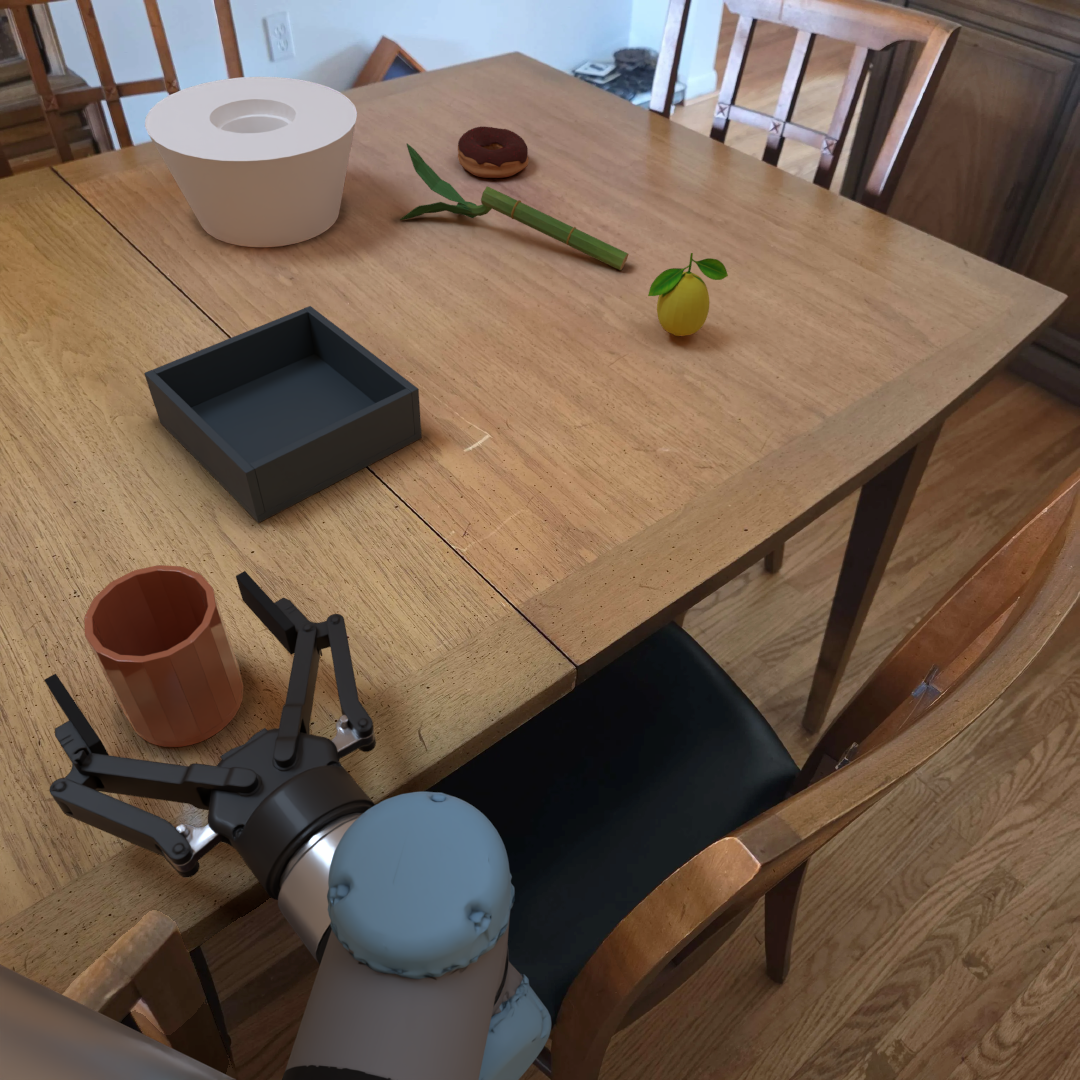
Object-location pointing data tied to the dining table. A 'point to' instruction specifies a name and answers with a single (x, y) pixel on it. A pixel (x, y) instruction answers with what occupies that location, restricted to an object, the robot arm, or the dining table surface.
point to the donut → (492, 152)
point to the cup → (166, 654)
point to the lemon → (685, 296)
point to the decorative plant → (512, 215)
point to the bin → (285, 410)
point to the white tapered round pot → (257, 156)
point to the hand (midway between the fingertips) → (154, 634)
